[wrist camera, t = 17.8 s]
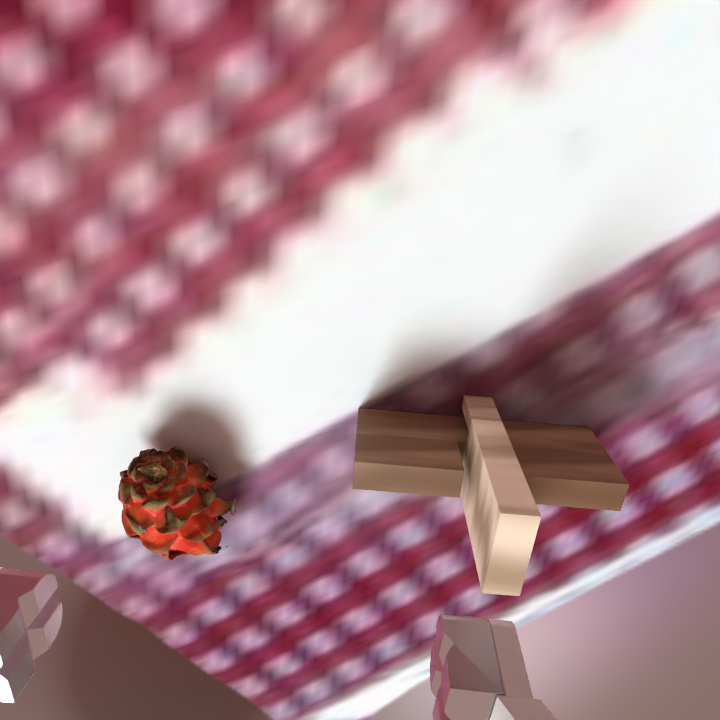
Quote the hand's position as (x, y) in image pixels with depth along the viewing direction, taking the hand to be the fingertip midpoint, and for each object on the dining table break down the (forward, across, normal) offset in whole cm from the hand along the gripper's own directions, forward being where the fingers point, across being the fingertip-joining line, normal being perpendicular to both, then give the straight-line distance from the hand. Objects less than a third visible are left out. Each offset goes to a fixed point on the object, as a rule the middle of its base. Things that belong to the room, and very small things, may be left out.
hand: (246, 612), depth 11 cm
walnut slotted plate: (+32, -12, +14) cm, 37 cm away
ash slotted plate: (+32, -12, +14) cm, 37 cm away
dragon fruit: (+32, +13, +23) cm, 41 cm away
